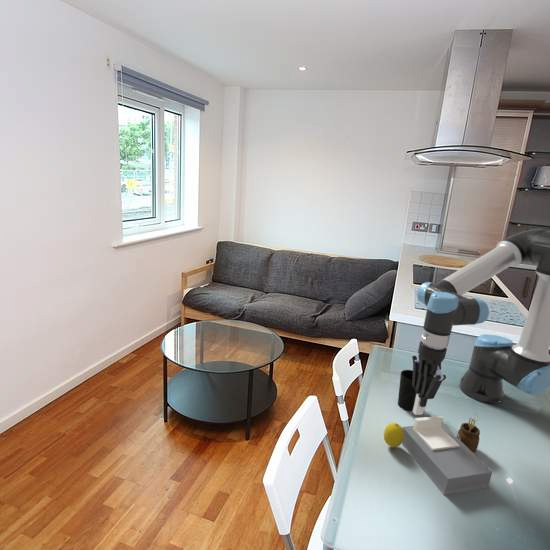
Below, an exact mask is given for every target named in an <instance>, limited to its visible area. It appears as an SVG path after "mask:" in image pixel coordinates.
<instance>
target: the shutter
mask: <svg viewBox="0 0 550 550" xmlns="http://www.w3.org/2000/svg"><path fill="white" fill-rule="evenodd" d="M443 421H444V417H443V416H442V415H434V416H433V415H432V416H426V417H425V416H423V417H415V419H414V421H413V425H412V426H413V430H414V431H415V432H416V433H417V434H418V435H419V437H420V438H421V439H422V440H423V441H424V442H425V443H426V444H427V445H428V447H429V448H430V449H431V450H432V451H433V450H441V449H448V448H456V447H459V446H460V445H459V444H458V443H457V442H456V441H455V440H454V439H453V438H452V437H451V436H450V435H449V434H448V433H447V432H446V431H445V430H444V429H443V428H442V427H441V426H442V423H443Z"/></svg>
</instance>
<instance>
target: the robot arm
mask: <svg viewBox="0 0 550 550" xmlns="http://www.w3.org/2000/svg"><path fill="white" fill-rule="evenodd" d="M522 263H532V264H534V265H536V269H535V273H536V274H537V276H538V280H537V284H536V287H535V289H534V293H533V296H532V299H531V303H530V306H529V308H528V309H529V310H528V312H527V315H526V318H525V321H524V324H523V328H522V331H521V334H520V337H519V341H518V343H517V344H514V343H513V340H511V339H510V338H508V337H505V336H501V335H496V334H489V333H487V334H480V335H478V336H477V338H476V339H475V340H476V341H475V342H474V344H473V345H474V347H473V350H472V354H471V358H470V363H469V367H468V369H467V370H466V371H465V373H463V374H464V375H463V376H462V377H461V378H460V381H459V383H458V384H459V385H458V386H460V387H459V389H460V388H461V389H460V390H461V392H462V393H464V394H465V393H466V394H467V396H468V395H469V396H468V397H470V396H471V397H470V398H472V397H473V398H472V399H473V400H476V399H477V401H479V402H482V401H483V403H486V402H490V403H489V404H492V403H491V402H499V401H501V400H502V401H503V399H504V394H505V393H504V389H503V388H504V386H503V385H504V382H505V383H508V384H510V385H512V386H514V387H515V388H517V390H519V391H522V392H524V393H525V394H527V395H530V396H537V395H540V394H541V393H543V392H545V391H546V390H547V389H548V388H550V353H549V351H550V230H549V229H546V228H532V229H531V228H530V229H528V230H523V231H521V232H518V233H515V234H512V235H510V236H507V237H506V238H504V239H502V240H501V241H499V242H498V243H497V244H496V245H495V248H493V249H492V250H490V251H488V252H486V253H485V254H483V255H482V256H480V257H478V258H477V259H474V261H472V262H470V263H468V264H467V265H464V266H463V267H461V268H460V269H458V270H456V271H455V272H453V273H451V274H450V275H448V276H446V277H445V278H443V279H441V280H439V281H438V282H436V283H434V282H429V281H426V282H423V283H422V284H421V285H420V286H419V288H418V289H417V293H416V296H417V300H418V301H419V303H422V304H423V305H425V306H426V307H427V308H426V311H425V312H426V313H425V317H424V322H423V327H422V330H421V331H422V332H421V335H420V336H421V337H420V341H419V345H418V348H417V349H418V350H417V353H418V355H412V357H411V358H412V371H413V377H412V387H413V388H415V392H416V394H415V403H414V408H413V410H412V413H413V414H414V415H415V416H420V415H424V412H425V411H424V410H425V408H426V406H427V403H428V400H433V399H435V396H436V395H437V393H438V391H439V388H440V386H441V384H442V383H443V381H445V380H446V379H447V376H446V375H445V374H443V373H442V371H441V370H442V362H443V361H445V358H446V354H447V350H448V349H447V348H448V346H449V343H450V338H451V334H452V330H453V327H454V326H468V325H472V326H474V325H478V324H483V323H484V322H486V321H487V320H488V318H489V315H490V314H489V313H490V309H489V306H488V304H487V303H486V301H484V300H482V299H480V298H467V297H465V296H463V295H465V294H466V293H468V292H470V291H471V290H473V289H475V288H476V287H478V286H479V285H482V284H483V283H485V282H487V281H488V280H489V279H492V278H494V277H495V276H496V275H498V274H499V273H501V272H502V271H505V270H506V269H508V268H510V267H516V266H519V265H520V264H522ZM503 381H504V382H503ZM466 394H465V395H466ZM502 401H501V402H502ZM499 403H500V402H499Z"/></svg>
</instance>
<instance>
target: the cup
mask: <svg viewBox="0 0 550 550" xmlns="http://www.w3.org/2000/svg"><path fill="white" fill-rule="evenodd" d="M412 377H413V369H412V370H411V369H404V370H402V371H401V372H400V376H399V378H400V379H399V386H398V387H399V389H398V390H399V391H398V399H397V406H398V407H399V408H400V409H402V410H405V411H407V412H408V411H411V412H412V411H413V408H414V403H415V394H416V392H415V388H413V387H412Z"/></svg>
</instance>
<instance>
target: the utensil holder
mask: <svg viewBox="0 0 550 550" xmlns="http://www.w3.org/2000/svg"><path fill="white" fill-rule="evenodd" d="M473 415H475V416H474V417H473ZM476 416H477V418H476ZM472 417H473V418H472ZM479 418H480V417H479V415H478V414H477V413H473V412H472V413H471V416H470V417H469V419H468V422H463V423H461V425H460V428H459V429H458V431H457V434H456V437H457V438H458V439H459V440H460V441H461V442H462V443H463V444H464V445H465V446H466V447H467V448H468V449H470V450H471V451H472V452H473V453H474V454H475V453H476V452H477V451H478V447H479V443H480V434H481V430H480V428H479V427H477V425H478V423H479V421H480V420H479Z"/></svg>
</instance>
